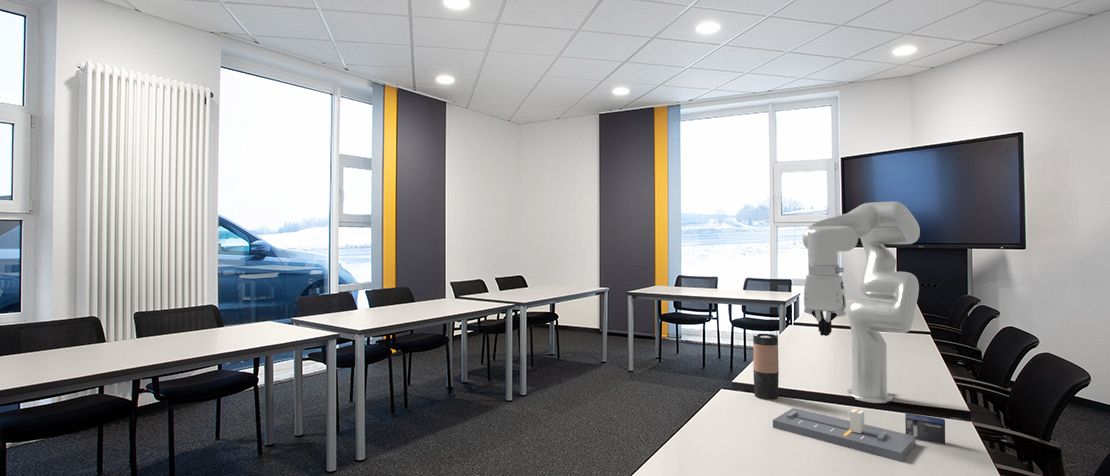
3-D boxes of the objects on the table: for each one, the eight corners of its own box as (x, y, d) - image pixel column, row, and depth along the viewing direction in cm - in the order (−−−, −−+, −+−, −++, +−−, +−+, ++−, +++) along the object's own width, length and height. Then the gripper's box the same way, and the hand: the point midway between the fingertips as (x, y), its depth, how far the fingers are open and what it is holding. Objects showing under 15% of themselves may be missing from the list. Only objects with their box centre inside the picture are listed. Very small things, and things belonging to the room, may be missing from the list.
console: (793, 414, 150) (793, 405, 150) (915, 444, 128) (915, 432, 128) (772, 427, 140) (772, 417, 140) (901, 461, 118) (901, 449, 118)
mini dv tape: (905, 437, 132) (905, 414, 132) (905, 435, 133) (905, 412, 133) (945, 444, 128) (945, 420, 128) (944, 442, 129) (944, 418, 129)
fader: (853, 427, 133) (853, 408, 133) (864, 430, 131) (864, 410, 131) (850, 430, 131) (850, 411, 131) (860, 433, 129) (860, 413, 129)
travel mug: (781, 400, 162) (780, 338, 162) (756, 399, 164) (755, 337, 164) (775, 393, 170) (775, 333, 170) (751, 392, 171) (751, 333, 171)
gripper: (856, 270, 142) (858, 335, 143) (800, 268, 153) (802, 329, 153) (848, 273, 137) (850, 340, 138) (791, 271, 148) (793, 334, 148)
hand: (825, 334), depth 145 cm, fingers closed
